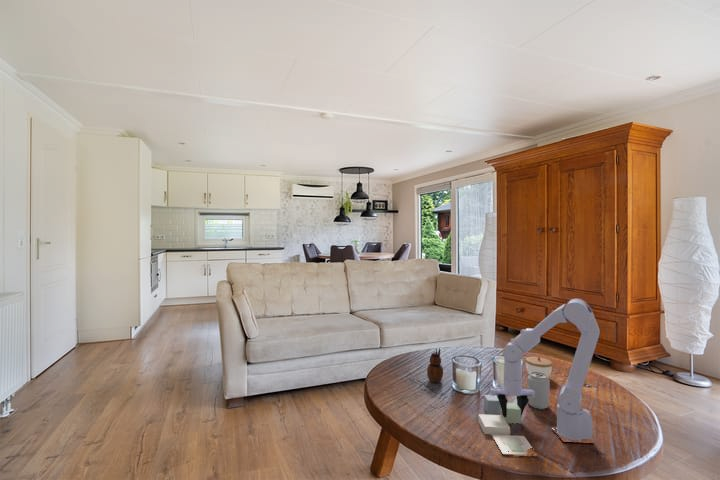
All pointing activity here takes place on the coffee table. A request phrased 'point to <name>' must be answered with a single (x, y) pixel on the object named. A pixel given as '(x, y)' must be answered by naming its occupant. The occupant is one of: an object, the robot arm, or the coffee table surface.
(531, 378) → the can
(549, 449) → the coffee table surface
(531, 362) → the lidded jar
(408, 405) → the coffee table surface
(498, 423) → the white square slab
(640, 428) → the coffee table surface
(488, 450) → the coffee table surface
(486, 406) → the slate block
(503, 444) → the tile
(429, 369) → the wooden figurine
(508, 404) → the sage block
